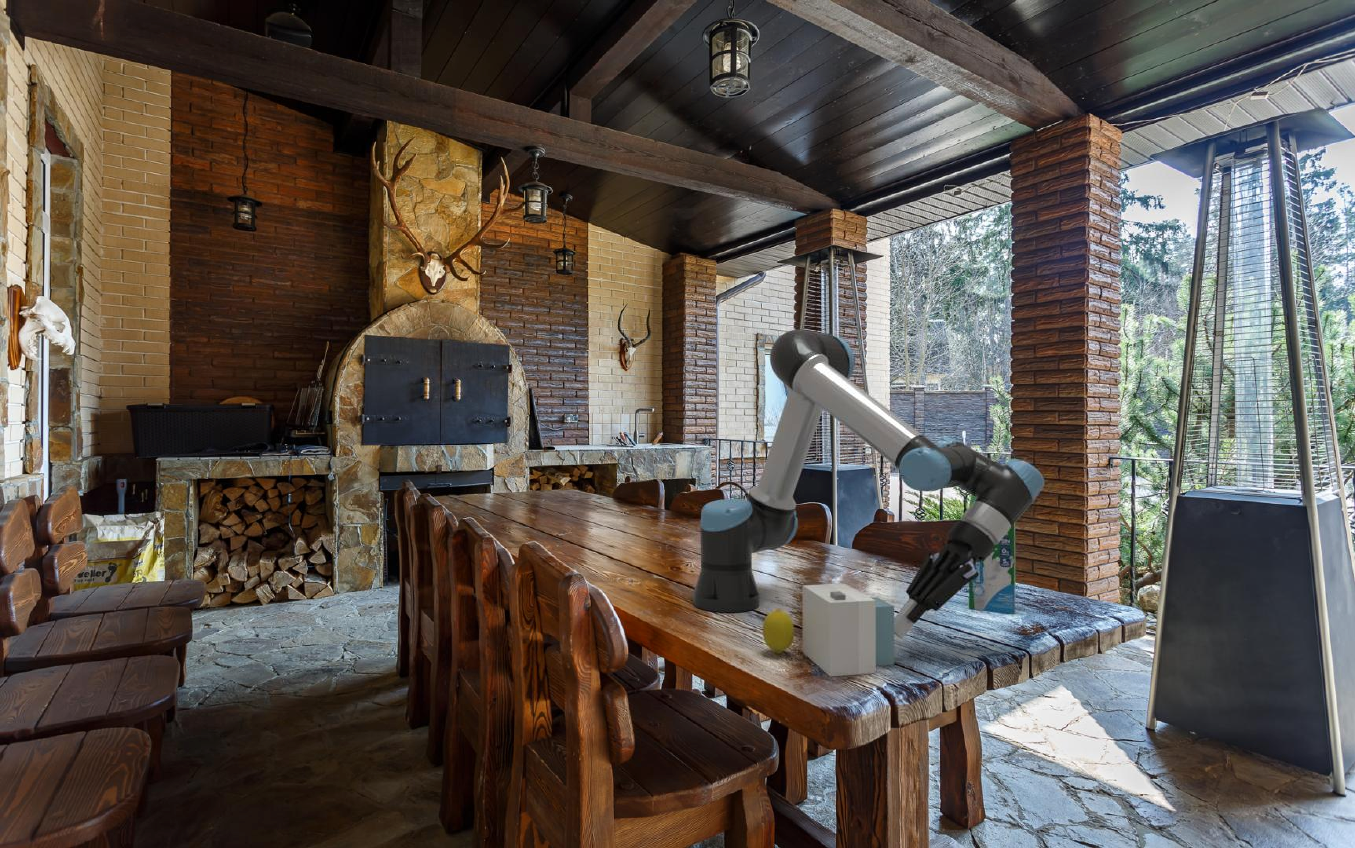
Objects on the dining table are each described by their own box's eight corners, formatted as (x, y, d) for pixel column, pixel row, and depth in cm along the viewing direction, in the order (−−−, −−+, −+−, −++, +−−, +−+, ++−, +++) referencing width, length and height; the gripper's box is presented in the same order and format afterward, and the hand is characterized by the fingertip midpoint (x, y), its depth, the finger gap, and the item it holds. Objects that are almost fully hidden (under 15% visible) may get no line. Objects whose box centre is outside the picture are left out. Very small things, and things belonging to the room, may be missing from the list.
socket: (802, 652, 121) (802, 581, 121) (844, 649, 122) (843, 579, 122) (830, 676, 109) (830, 597, 109) (875, 673, 111) (875, 595, 111)
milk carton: (968, 609, 149) (968, 496, 149) (972, 599, 157) (971, 492, 157) (1014, 614, 144) (1014, 498, 144) (1015, 604, 152) (1015, 494, 152)
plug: (836, 655, 119) (836, 599, 119) (879, 652, 120) (879, 597, 120) (851, 667, 113) (851, 608, 113) (896, 664, 115) (896, 605, 115)
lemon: (756, 653, 120) (756, 609, 120) (775, 646, 124) (775, 603, 124) (781, 661, 116) (781, 615, 116) (800, 653, 120) (800, 609, 120)
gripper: (1015, 553, 115) (929, 659, 112) (968, 540, 128) (889, 635, 124) (987, 523, 114) (899, 629, 111) (942, 514, 127) (862, 609, 123)
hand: (894, 632), depth 118 cm, fingers closed
